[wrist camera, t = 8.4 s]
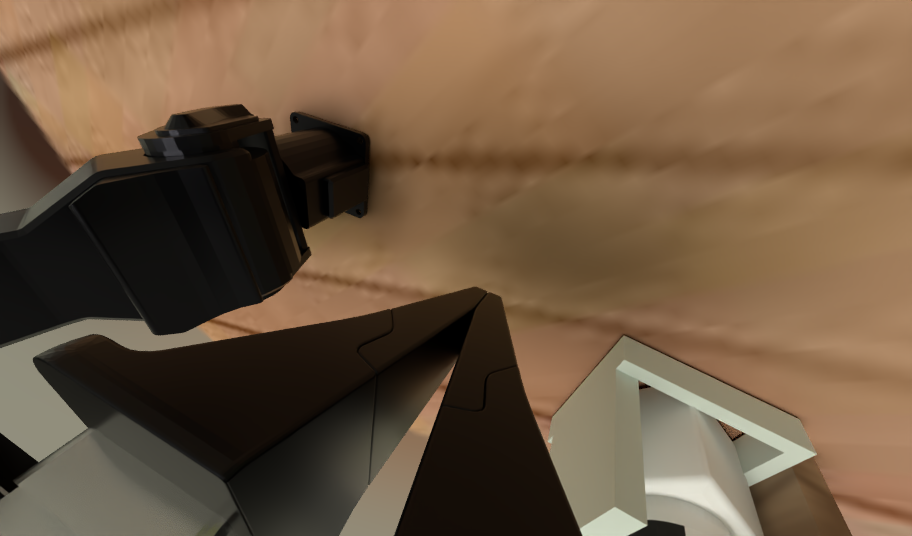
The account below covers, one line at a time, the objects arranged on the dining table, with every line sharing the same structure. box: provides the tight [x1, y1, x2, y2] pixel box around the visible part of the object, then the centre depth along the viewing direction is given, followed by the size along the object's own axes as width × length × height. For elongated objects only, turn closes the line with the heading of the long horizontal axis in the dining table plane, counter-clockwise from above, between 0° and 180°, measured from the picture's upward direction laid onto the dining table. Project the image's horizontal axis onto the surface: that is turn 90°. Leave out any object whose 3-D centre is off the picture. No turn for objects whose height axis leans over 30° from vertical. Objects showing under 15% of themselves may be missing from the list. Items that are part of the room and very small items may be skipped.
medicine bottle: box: [628, 387, 764, 536], centre depth 21 cm, size 7×7×12 cm
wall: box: [749, 457, 852, 536], centre depth 21 cm, size 2×8×8 cm, turn 164°
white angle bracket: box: [548, 336, 817, 536], centre depth 21 cm, size 12×12×11 cm
